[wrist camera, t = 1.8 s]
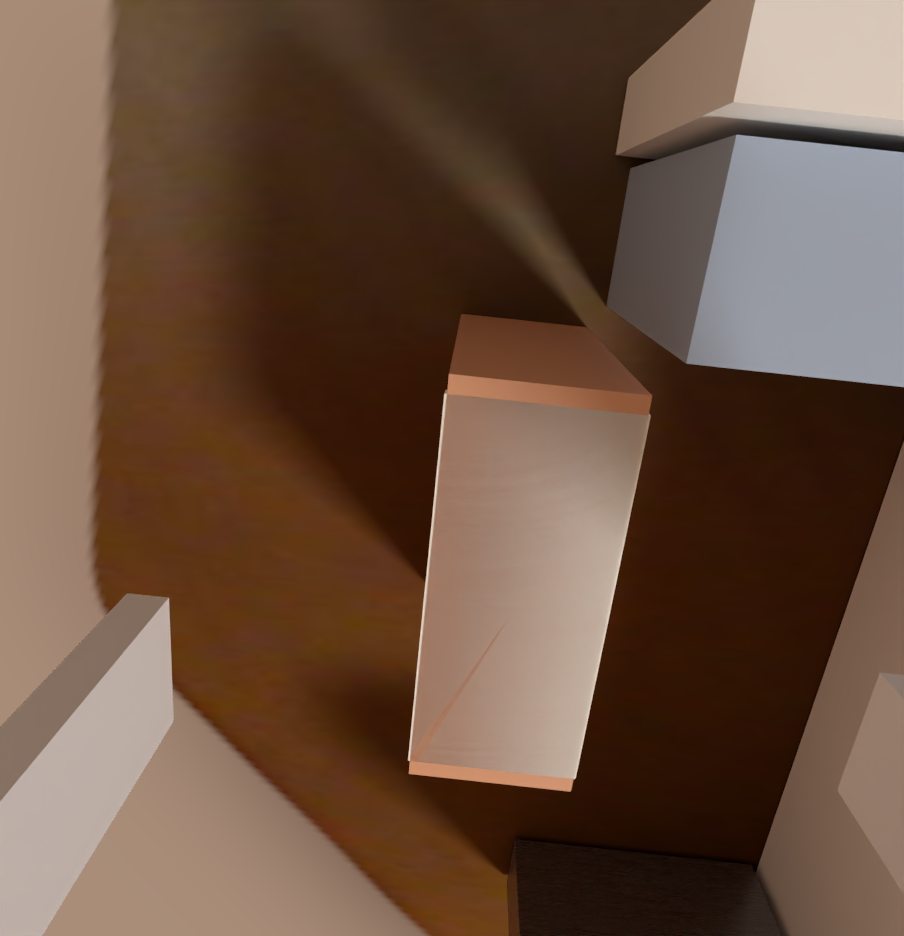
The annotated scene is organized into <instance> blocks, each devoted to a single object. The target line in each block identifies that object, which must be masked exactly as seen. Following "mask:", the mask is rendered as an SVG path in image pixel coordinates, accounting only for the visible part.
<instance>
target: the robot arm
mask: <svg viewBox="0 0 904 936" xmlns="http://www.w3.org/2000/svg"><path fill="white" fill-rule="evenodd" d="M173 719H174V718H173V691H172V666H171V640H170V614H169V598H167V597H157V596H148V595H138V594H129V593H127V594H126V595H125V596H124V597H123V598H122V599H121V600H120V601H119V603H118V604H117V605H116V606H115V607H114V608H113V609H112V610H111V611H110V612H109V613H108V614H107V615H106V616H105V617H104V618H103V619H102V620H101V621H100V622H99V624H98V625H97V626H96V627H95V628H94V629H93V630H92V631H91V632H90V633H89V634H88V635H87V636H86V637H85V638H84V639H83V640H82V641H81V643H80V644H79V645H78V646H77V647H76V648H75V649H74V650H73V651H72V652H71V653H70V654H69V655H68V656H67V657H66V658H65V659H64V661H62V662H61V664H60V665H59V666H58V667H57V668H56V669H55V670H54V671H53V672H52V673H51V674H50V675H49V676H48V677H47V678H46V679H45V680H44V681H43V682H42V683H41V685H40V686H39V687H38V688H37V689H36V690H35V691H34V692H33V693H32V694H31V695H30V696H29V697H28V698H27V699H26V700H25V701H24V702H23V704H21V706H20V707H19V708H18V709H17V710H16V711H15V712H14V713H13V714H12V715H11V716H10V717H9V718H8V719H7V720H6V721H5V722H4V723H3V724H2V726H1V727H0V936H42V935H43V934H44V932H45V931H46V929H47V927H48V926H49V924H50V922H51V921H52V919H53V917H54V916H55V914H56V913H57V911H58V909H59V908H60V906H61V904H62V903H63V901H64V899H65V898H66V896H67V895H68V893H69V891H70V889H71V888H72V886H73V884H74V883H75V881H76V880H77V878H78V876H79V875H80V873H81V872H82V870H83V868H84V866H85V865H86V863H87V862H88V860H89V859H90V857H91V855H92V854H93V852H94V850H95V849H96V847H97V845H98V844H99V842H100V840H101V839H102V837H103V836H104V834H105V832H106V831H107V829H108V827H109V826H110V824H111V823H112V821H113V819H114V818H115V816H116V814H117V813H118V811H119V809H120V808H121V806H122V804H123V803H124V801H125V800H126V798H127V796H128V795H129V793H130V791H131V790H132V788H133V786H134V785H135V783H136V782H137V780H138V778H139V777H140V775H141V773H142V772H143V770H144V768H145V767H146V765H147V764H148V762H149V760H150V759H151V757H152V755H153V754H154V752H155V751H156V749H157V747H158V746H159V744H160V742H161V741H162V739H163V737H164V736H165V734H166V733H167V731H168V729H169V728H170V726H171V724H172V723H173V721H174V720H173ZM837 791H838V793H839V794H840V796H841V797H842V799H843V800H844V802H845V803H846V805H847V807H848V808H849V810H850V811H851V813H852V814H853V816H854V817H855V819H856V821H857V822H858V824H859V825H860V827H861V828H862V830H863V831H864V833H865V835H866V836H867V838H868V839H869V841H870V842H871V844H872V845H873V847H874V849H875V850H876V852H877V853H878V855H879V856H880V858H881V859H882V861H883V863H884V864H885V866H886V867H887V869H888V870H889V872H890V873H891V875H892V877H893V878H894V880H895V881H896V883H897V884H898V886H899V887H900V889H901V891H902V892H903V894H904V675H898V674H888V673H879V676H878V679H877V682H876V684H875V687H874V690H873V693H872V695H871V698H870V701H869V704H868V706H867V709H866V712H865V715H864V717H863V720H862V723H861V726H860V728H859V731H858V734H857V737H856V740H855V742H854V745H853V748H852V751H851V753H850V756H849V759H848V762H847V764H846V767H845V770H844V773H843V775H842V778H841V781H840V784H839V787H838V789H837Z"/></svg>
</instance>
